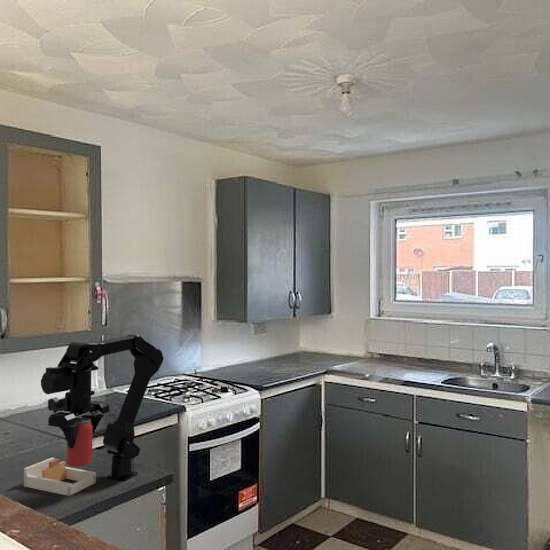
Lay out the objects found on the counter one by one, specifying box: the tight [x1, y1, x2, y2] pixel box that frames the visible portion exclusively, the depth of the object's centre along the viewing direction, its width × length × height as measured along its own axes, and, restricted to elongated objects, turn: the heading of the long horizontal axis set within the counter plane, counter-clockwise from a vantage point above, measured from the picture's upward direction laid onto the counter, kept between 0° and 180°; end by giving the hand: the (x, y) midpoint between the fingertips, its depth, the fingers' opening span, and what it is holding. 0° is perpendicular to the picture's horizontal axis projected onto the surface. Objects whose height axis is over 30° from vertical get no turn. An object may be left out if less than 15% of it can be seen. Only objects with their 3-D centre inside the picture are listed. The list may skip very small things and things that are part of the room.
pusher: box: [42, 458, 66, 482], centre depth 161 cm, size 8×1×6 cm, turn 158°
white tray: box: [23, 457, 97, 497], centre depth 160 cm, size 10×16×5 cm, turn 68°
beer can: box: [66, 417, 94, 468], centre depth 155 cm, size 7×7×12 cm
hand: (79, 444), depth 155 cm, fingers closed on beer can, 7 cm apart
